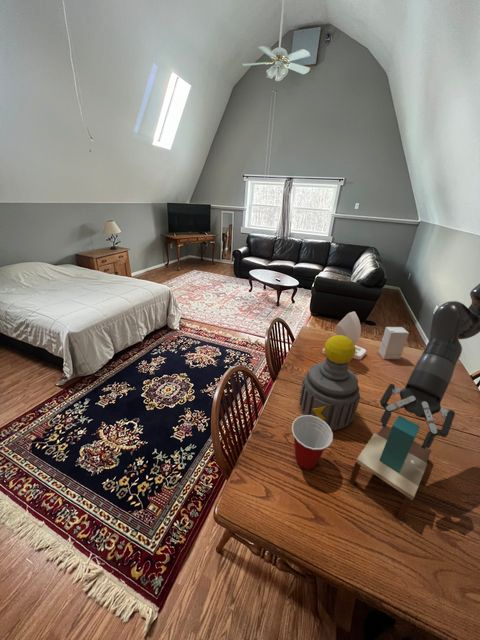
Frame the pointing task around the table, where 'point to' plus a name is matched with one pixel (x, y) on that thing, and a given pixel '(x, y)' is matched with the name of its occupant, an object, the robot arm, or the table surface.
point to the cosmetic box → (393, 342)
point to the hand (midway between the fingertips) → (402, 436)
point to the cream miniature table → (401, 481)
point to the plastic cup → (310, 439)
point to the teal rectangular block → (399, 443)
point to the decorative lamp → (332, 385)
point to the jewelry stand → (351, 332)
